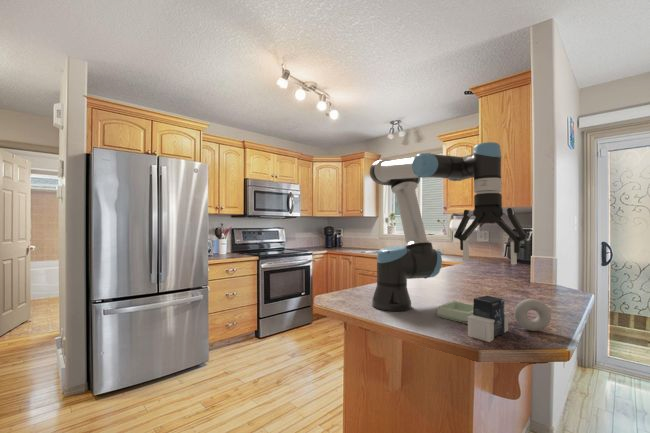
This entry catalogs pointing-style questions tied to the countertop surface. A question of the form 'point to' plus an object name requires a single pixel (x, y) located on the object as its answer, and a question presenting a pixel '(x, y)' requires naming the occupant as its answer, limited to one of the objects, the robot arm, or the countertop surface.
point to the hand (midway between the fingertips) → (488, 262)
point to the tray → (455, 311)
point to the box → (491, 311)
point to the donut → (537, 323)
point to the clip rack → (484, 327)
